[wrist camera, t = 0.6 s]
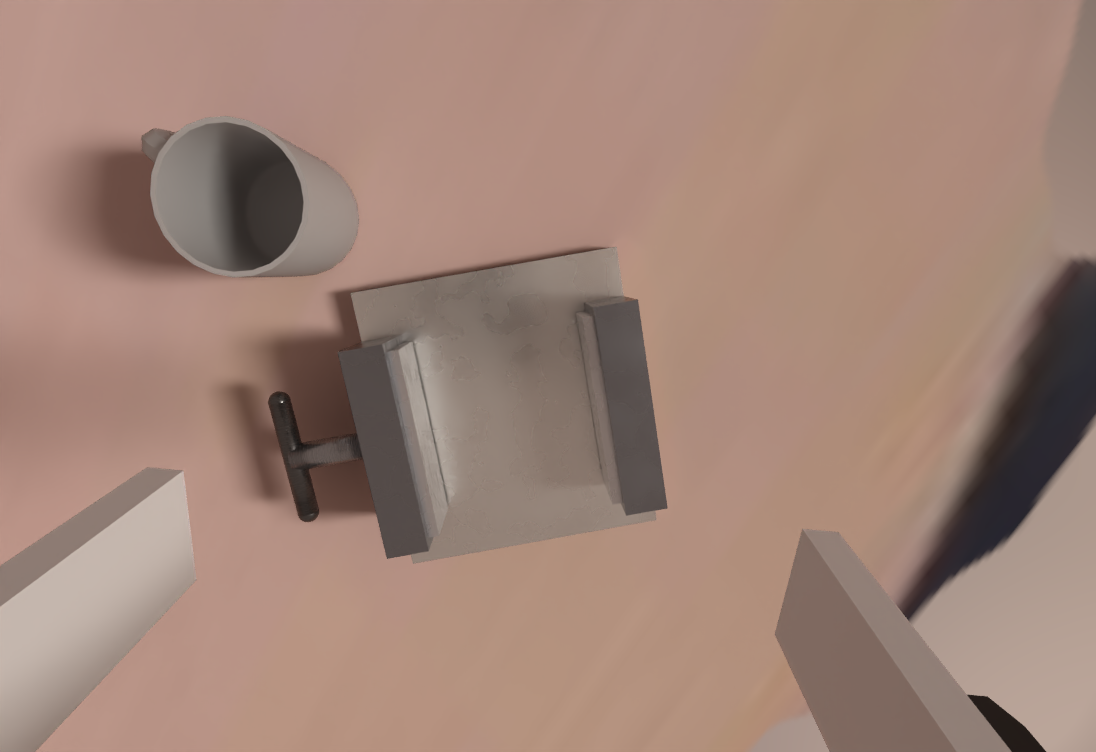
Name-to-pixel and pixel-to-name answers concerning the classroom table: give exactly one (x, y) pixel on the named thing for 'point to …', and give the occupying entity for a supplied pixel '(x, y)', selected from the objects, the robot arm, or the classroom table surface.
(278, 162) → the cup
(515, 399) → the vise
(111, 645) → the robot arm
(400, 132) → the classroom table surface
